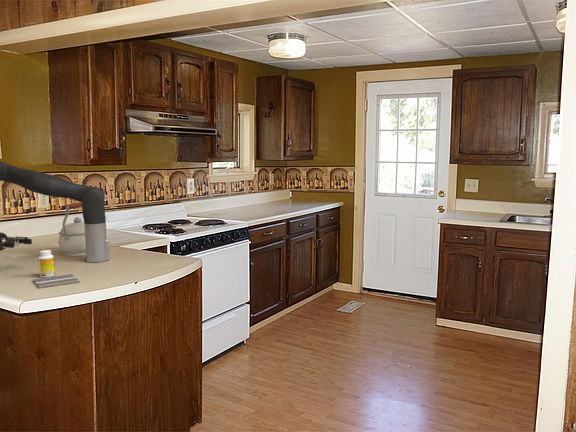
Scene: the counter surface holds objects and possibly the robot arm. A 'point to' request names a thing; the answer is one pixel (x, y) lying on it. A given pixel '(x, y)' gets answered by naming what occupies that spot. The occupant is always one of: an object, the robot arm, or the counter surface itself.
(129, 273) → the counter surface
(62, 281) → the lane mat
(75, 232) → the kettle
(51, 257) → the supplement bottle
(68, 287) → the counter surface
